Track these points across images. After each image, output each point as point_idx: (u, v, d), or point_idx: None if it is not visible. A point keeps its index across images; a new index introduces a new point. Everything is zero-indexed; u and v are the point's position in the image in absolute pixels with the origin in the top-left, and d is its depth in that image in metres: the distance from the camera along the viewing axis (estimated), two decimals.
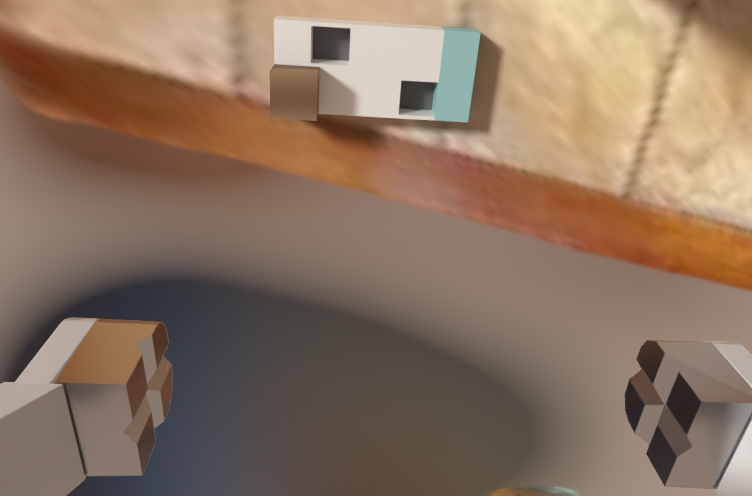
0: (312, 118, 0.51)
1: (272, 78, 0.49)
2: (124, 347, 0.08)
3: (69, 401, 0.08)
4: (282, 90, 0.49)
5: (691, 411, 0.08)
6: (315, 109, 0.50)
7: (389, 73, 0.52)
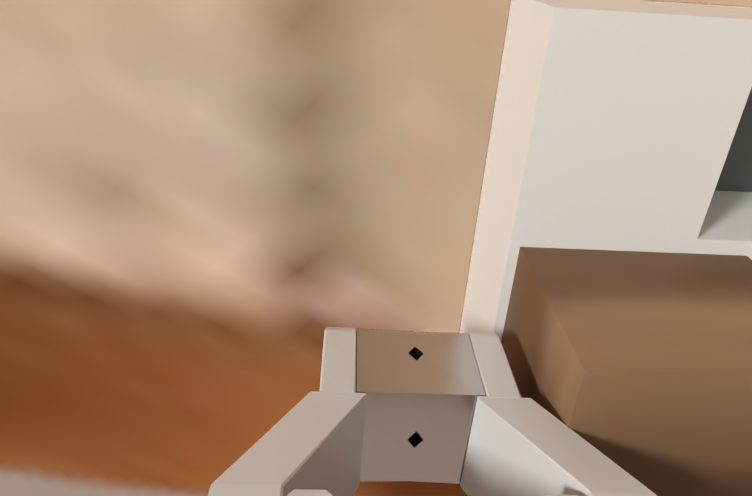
0: None
1: (592, 406, 0.07)
2: (399, 356, 0.09)
3: (367, 409, 0.08)
4: (636, 461, 0.08)
5: (416, 403, 0.08)
6: None
7: None
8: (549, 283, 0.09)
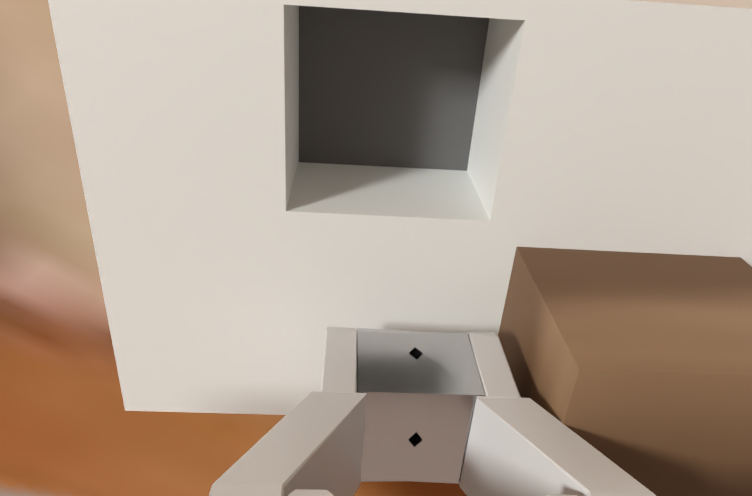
0: None
1: (586, 405, 0.07)
2: (400, 356, 0.09)
3: (368, 409, 0.08)
4: (630, 459, 0.08)
5: (415, 403, 0.08)
6: None
7: (693, 253, 0.10)
8: (545, 283, 0.09)
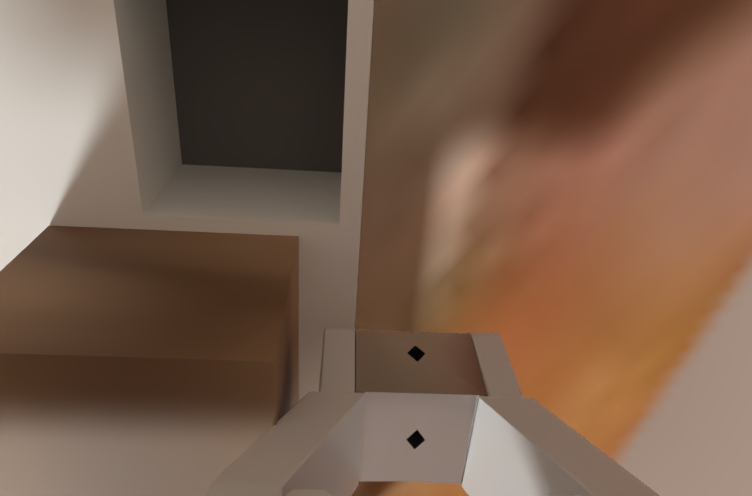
0: (259, 384, 0.07)
1: None
2: (398, 356, 0.09)
3: (366, 409, 0.08)
4: None
5: (418, 403, 0.08)
6: (187, 367, 0.07)
7: None
8: None
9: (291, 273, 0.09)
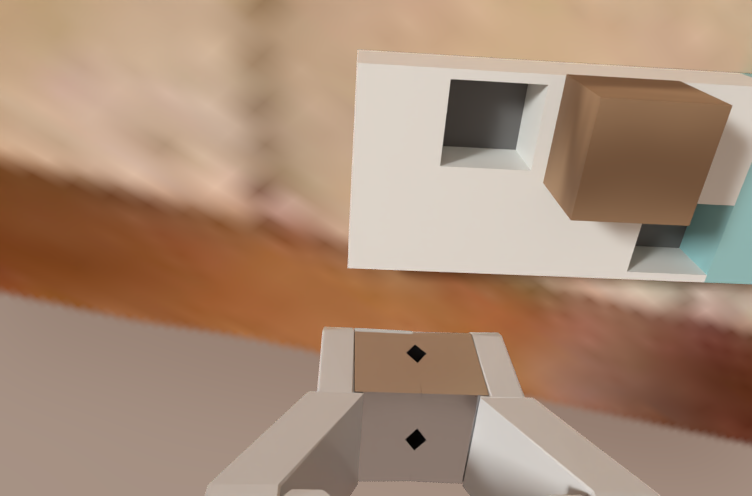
0: (680, 219, 0.19)
1: (604, 117, 0.17)
2: (397, 356, 0.09)
3: (365, 409, 0.08)
4: (622, 149, 0.18)
5: (419, 403, 0.08)
6: (696, 197, 0.19)
7: None
8: (583, 82, 0.19)
9: None
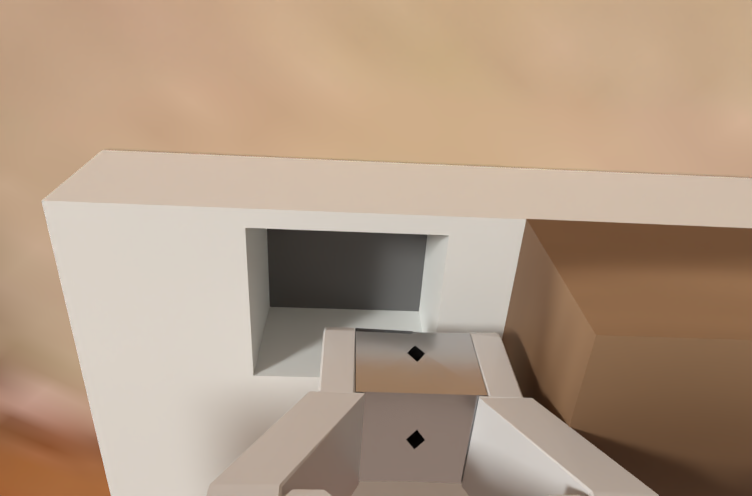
0: None
1: (603, 373, 0.07)
2: (398, 356, 0.09)
3: (366, 409, 0.08)
4: (648, 432, 0.08)
5: (418, 403, 0.08)
6: None
7: None
8: (557, 253, 0.09)
9: None
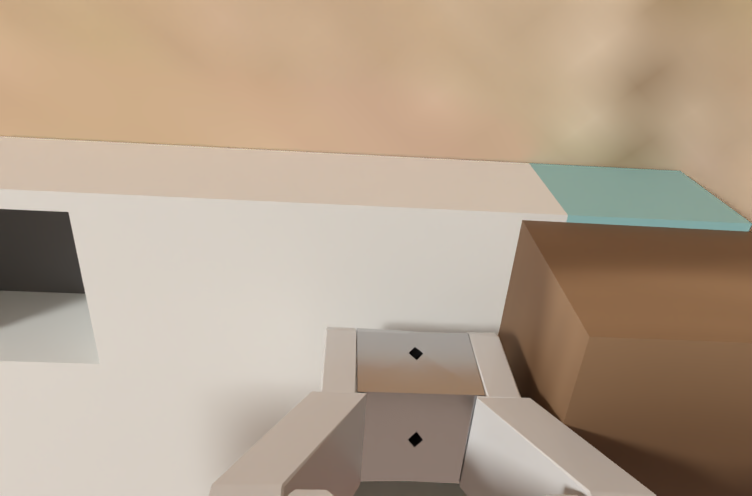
0: None
1: (596, 374, 0.07)
2: (399, 356, 0.09)
3: (367, 410, 0.08)
4: (640, 431, 0.08)
5: (416, 403, 0.08)
6: None
7: (296, 387, 0.11)
8: (552, 254, 0.09)
9: None
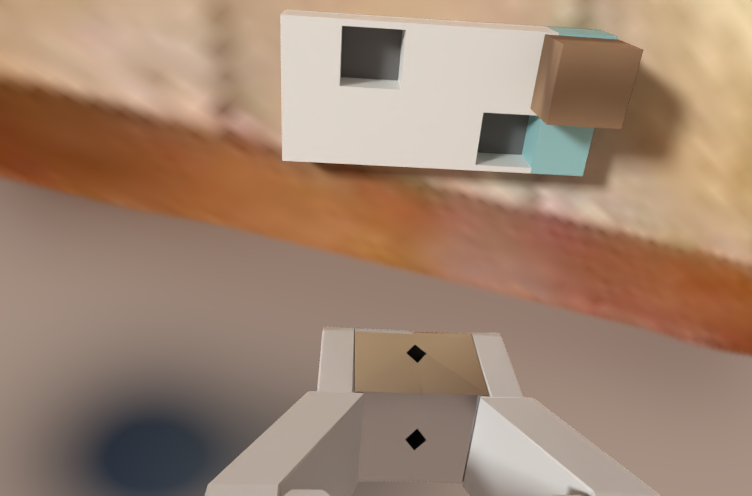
0: (615, 125, 0.30)
1: (565, 56, 0.28)
2: (397, 356, 0.09)
3: (365, 409, 0.08)
4: (577, 77, 0.29)
5: (419, 403, 0.08)
6: (624, 110, 0.30)
7: (465, 101, 0.33)
8: (554, 37, 0.30)
9: None
